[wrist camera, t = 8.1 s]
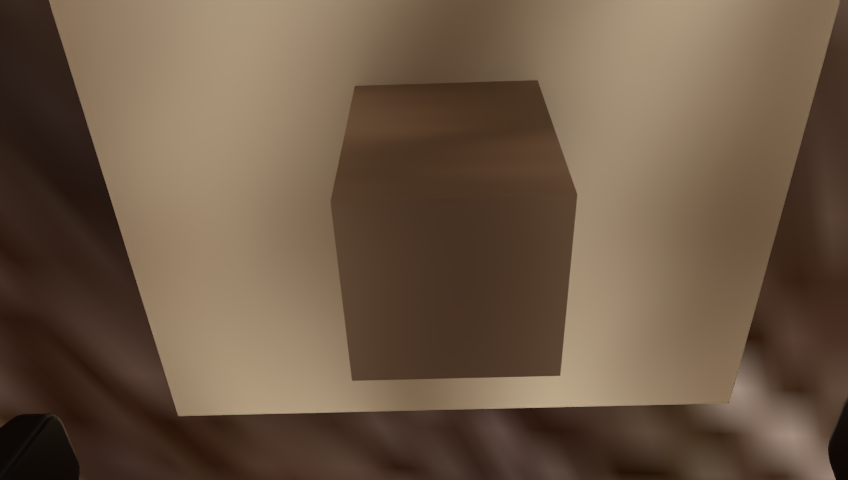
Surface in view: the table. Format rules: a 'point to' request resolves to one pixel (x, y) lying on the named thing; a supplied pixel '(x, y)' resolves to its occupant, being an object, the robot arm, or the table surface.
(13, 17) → the table surface
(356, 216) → the beige square tray
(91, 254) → the table surface
